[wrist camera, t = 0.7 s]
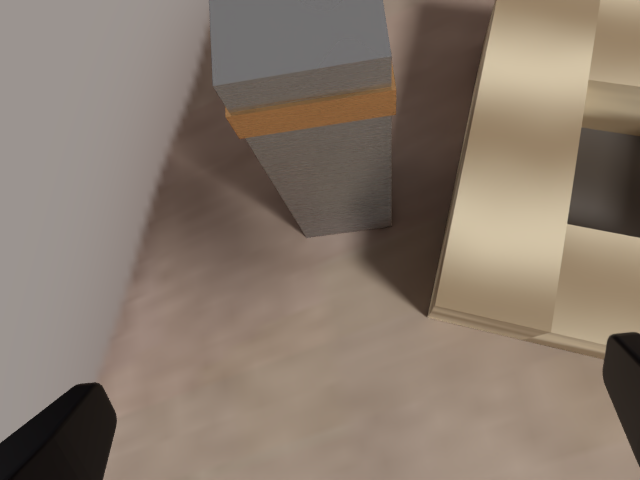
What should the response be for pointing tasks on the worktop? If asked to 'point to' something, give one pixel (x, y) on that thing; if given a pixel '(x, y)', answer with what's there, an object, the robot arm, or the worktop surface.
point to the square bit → (312, 103)
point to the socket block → (549, 179)
